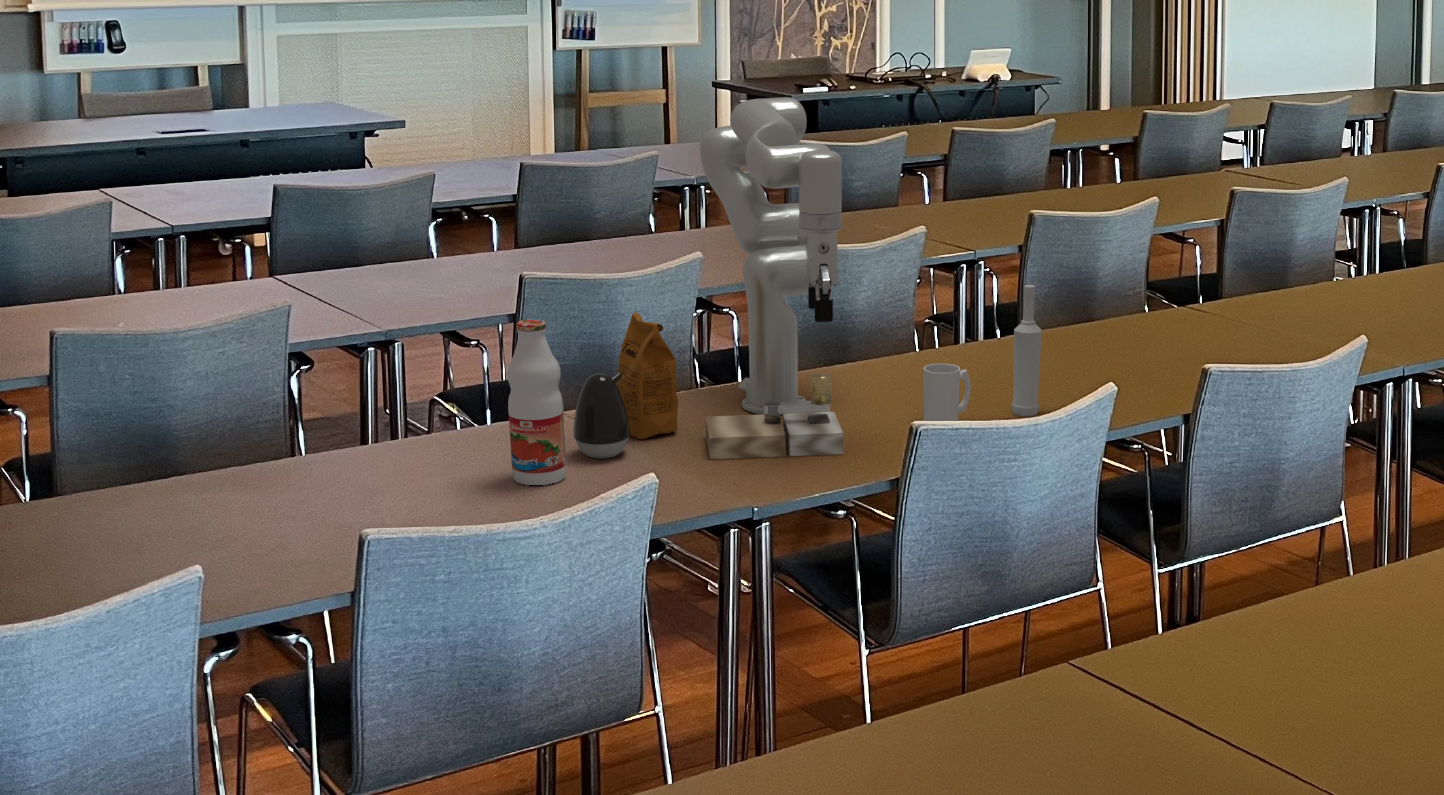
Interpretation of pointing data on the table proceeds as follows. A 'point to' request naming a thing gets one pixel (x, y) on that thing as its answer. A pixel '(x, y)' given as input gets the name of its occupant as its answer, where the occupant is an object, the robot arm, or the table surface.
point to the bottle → (1027, 359)
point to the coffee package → (648, 380)
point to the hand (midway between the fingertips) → (820, 314)
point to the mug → (944, 392)
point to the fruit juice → (535, 409)
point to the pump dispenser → (601, 418)
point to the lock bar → (817, 403)
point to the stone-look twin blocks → (773, 436)
